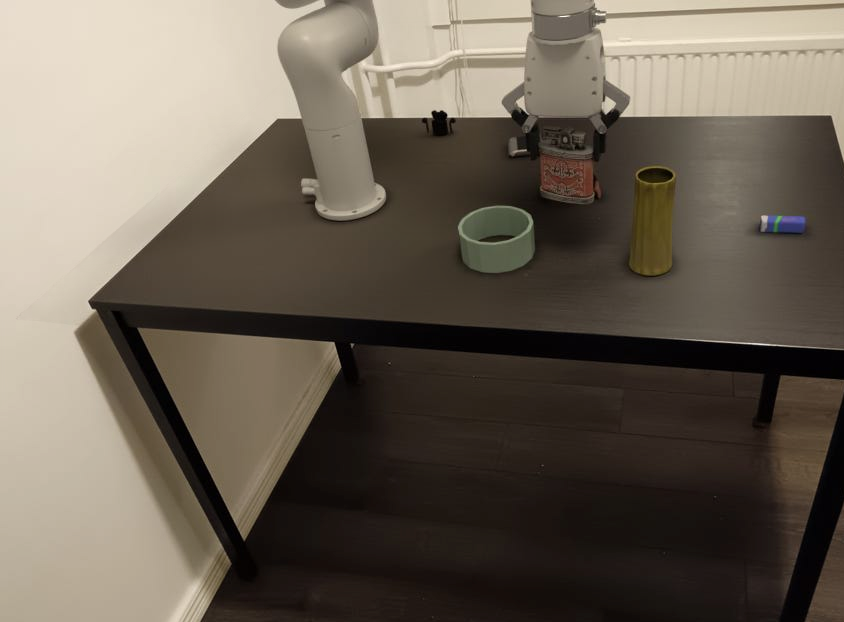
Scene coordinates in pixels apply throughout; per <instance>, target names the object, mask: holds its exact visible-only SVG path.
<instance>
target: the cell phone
mask: <svg viewBox="0 0 844 622" xmlns="http://www.w3.org/2000/svg"><path fill="white" fill-rule="evenodd" d="M539 137H540V142H541V141H543V140H547V139H552V138H546V137H543V133H542V134H539ZM558 140H559V139H558ZM507 147H508V156H511V157H512V158H515V157H523V156H524V157H526V156H530V152H527V150H526V135H522V136H513V137H510V138H509V139H508V143H507ZM539 155H540V152H539Z"/></svg>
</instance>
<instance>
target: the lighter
mask: <svg viewBox="0 0 844 622" xmlns="http://www.w3.org/2000/svg"><path fill="white" fill-rule="evenodd" d="M542 134H543V137H546V138H552V139H547V140H543V141H541V142H539V144H538V148H539V151H540V154H539V162H540V171H541V176H540V178H541V185H542V186H541V187H540V186H539V190H541V193H540V196H541V195H542V196H544V197H547V198H550V199H553V200H552V201H558V202H564V203H569V204H575V205H576V204H579V205H588V204H592V203H593V202H594V201H595V191H594V187H593V171H594V161H593V145H590V144H586V140H587V132H586V131H580V130H576V128H575V127H574V126H567V127H566V128H561V127H560V126H552V125H545V126H544V127H542ZM558 139H559V140H558Z"/></svg>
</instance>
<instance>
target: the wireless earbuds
mask: <svg viewBox="0 0 844 622" xmlns="http://www.w3.org/2000/svg"><path fill="white" fill-rule="evenodd" d="M430 113H431V117H432V120H431V129H432V133H433V135H435V136H447V135H448V134H449V133H450V134H453V127H452V124H455V123H456V122H457V120H456V118H454V117H451V118H450V119H449V121H448V120H447V119H448V117H449V115H448V113H447V112H446V111H444V110H443V109H442V110H441V109H440V110H439V111H438V110H436V109H433V110H432V111H431V112H430ZM421 123H422V124H425V129H426V133H427V134H430V129H429V128H430V127H429V122H428V118H427V117H422V119H421ZM448 126H449V127H448Z"/></svg>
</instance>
